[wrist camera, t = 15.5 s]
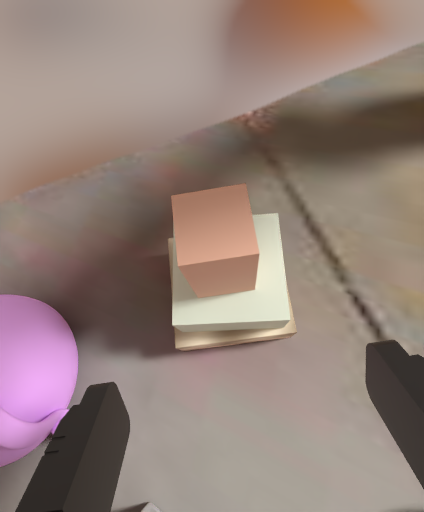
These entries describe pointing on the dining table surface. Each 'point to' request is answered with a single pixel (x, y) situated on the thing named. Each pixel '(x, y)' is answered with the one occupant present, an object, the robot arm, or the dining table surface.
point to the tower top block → (241, 303)
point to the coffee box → (150, 508)
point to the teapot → (33, 374)
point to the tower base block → (226, 337)
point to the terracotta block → (216, 240)
